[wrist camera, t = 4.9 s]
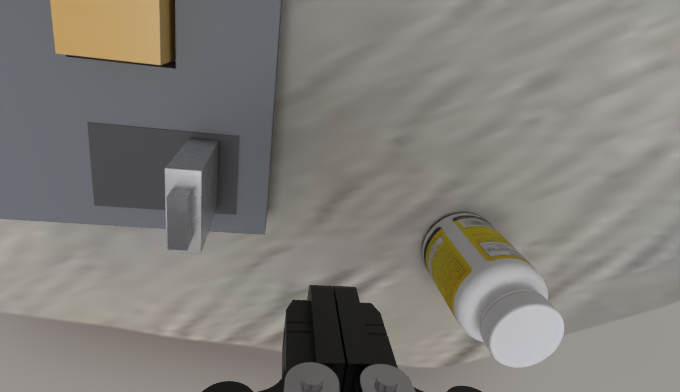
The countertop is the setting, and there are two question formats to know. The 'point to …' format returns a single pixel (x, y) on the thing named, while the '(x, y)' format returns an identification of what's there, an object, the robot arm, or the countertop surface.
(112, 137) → the panel
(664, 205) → the countertop surface
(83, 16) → the amber button
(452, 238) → the supplement bottle
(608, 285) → the countertop surface
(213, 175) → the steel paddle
